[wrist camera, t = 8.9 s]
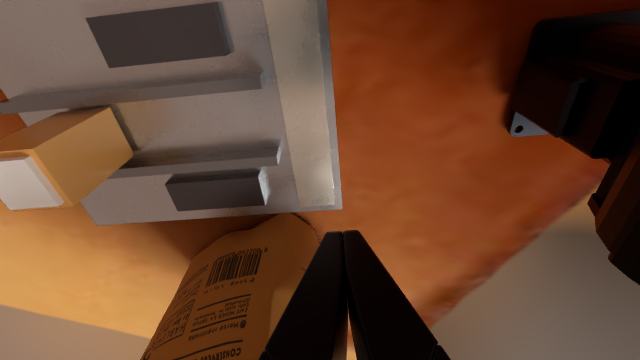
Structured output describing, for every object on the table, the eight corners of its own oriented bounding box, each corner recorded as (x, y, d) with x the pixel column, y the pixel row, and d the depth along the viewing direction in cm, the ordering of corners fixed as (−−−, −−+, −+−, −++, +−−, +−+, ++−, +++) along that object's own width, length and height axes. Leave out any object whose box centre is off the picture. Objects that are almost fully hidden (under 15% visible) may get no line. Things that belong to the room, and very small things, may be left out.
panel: (323, -44, 14) (322, -52, 11) (341, 192, 22) (343, 220, 19) (-18, 0, 15) (-91, 3, 13) (113, 208, 23) (84, 237, 20)
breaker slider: (109, 107, 16) (26, 152, 11) (134, 155, 18) (69, 210, 13) (59, 112, 16) (-43, 158, 12) (87, 159, 18) (8, 215, 13)
